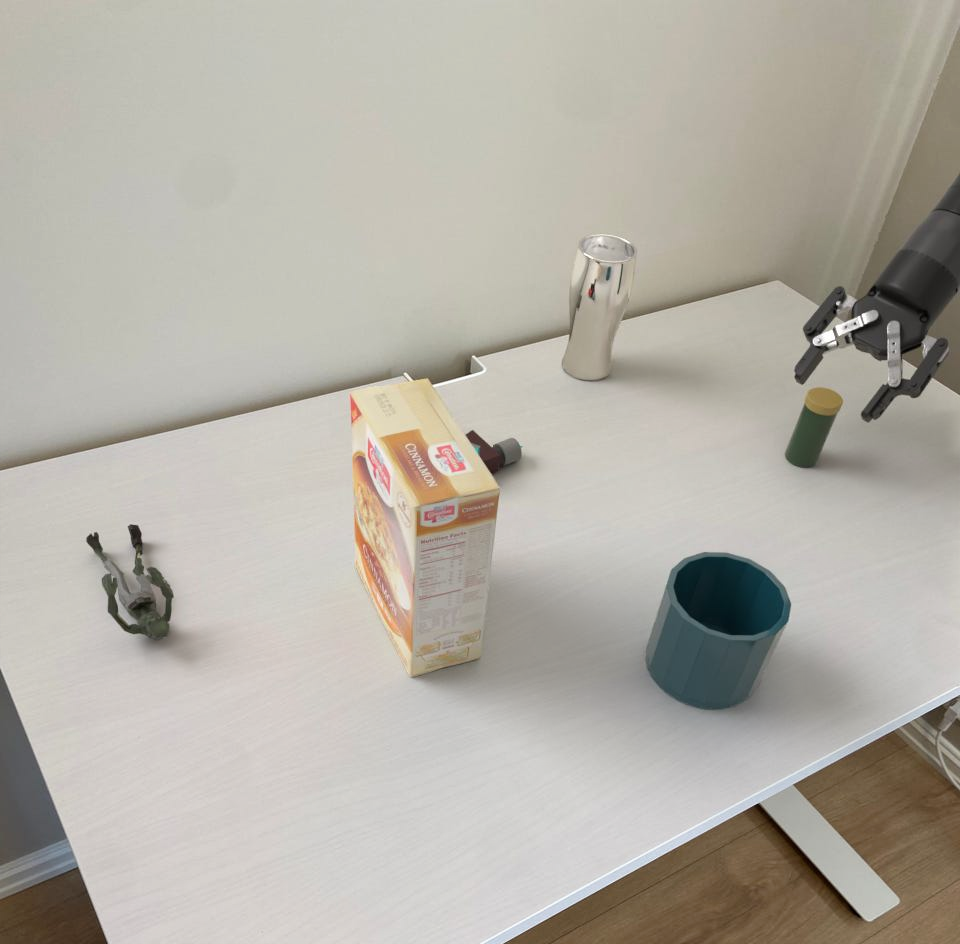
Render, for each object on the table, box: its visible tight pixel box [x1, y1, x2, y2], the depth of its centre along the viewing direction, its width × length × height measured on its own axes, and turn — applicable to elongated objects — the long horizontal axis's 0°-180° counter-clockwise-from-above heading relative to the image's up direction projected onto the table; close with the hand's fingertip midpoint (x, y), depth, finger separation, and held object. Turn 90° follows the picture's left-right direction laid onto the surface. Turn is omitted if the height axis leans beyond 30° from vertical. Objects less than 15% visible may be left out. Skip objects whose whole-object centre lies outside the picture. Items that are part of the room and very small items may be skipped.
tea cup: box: [645, 551, 792, 710], centre depth 83 cm, size 10×10×9 cm
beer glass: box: [561, 233, 638, 381], centre depth 111 cm, size 7×7×15 cm
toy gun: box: [464, 429, 524, 474], centre depth 102 cm, size 10×12×5 cm
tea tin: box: [784, 386, 844, 469], centre depth 105 cm, size 4×4×8 cm
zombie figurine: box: [85, 523, 175, 641], centre depth 84 cm, size 5×7×15 cm
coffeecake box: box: [349, 377, 501, 678], centre depth 81 cm, size 15×7×20 cm, turn 23°
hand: (830, 399), depth 104 cm, fingers open, 8 cm apart
